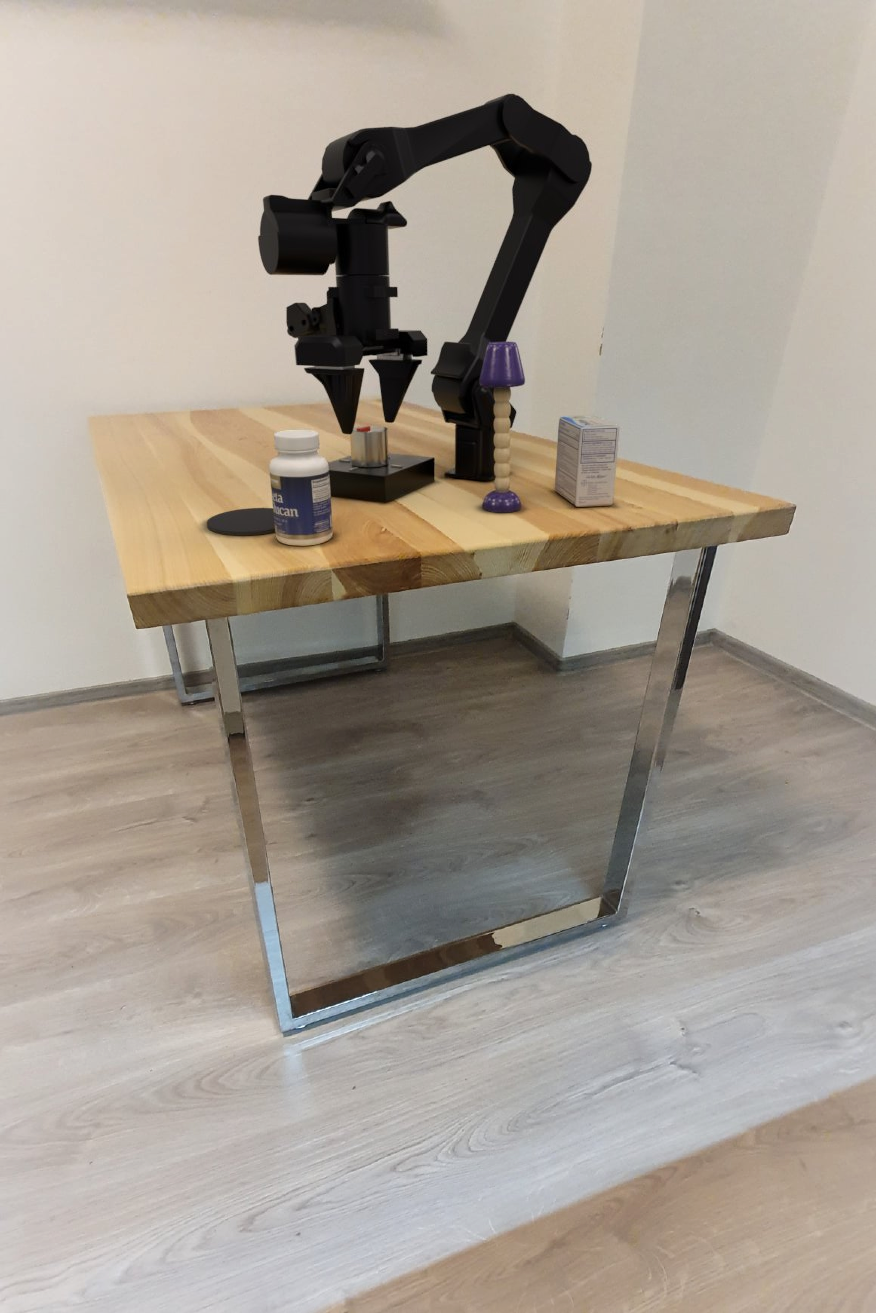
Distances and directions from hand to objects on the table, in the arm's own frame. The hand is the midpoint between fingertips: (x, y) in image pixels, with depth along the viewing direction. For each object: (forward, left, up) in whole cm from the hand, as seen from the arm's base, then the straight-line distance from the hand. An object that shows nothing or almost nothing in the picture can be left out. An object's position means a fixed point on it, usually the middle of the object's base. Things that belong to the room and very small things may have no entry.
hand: (369, 428), depth 84 cm
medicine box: (-7, +24, -7) cm, 26 cm away
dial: (0, 0, -4) cm, 4 cm away
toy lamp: (+1, +17, -7) cm, 18 cm away
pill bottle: (+20, +5, -7) cm, 22 cm away
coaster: (+18, -3, -7) cm, 20 cm away
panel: (-1, 0, -7) cm, 7 cm away
